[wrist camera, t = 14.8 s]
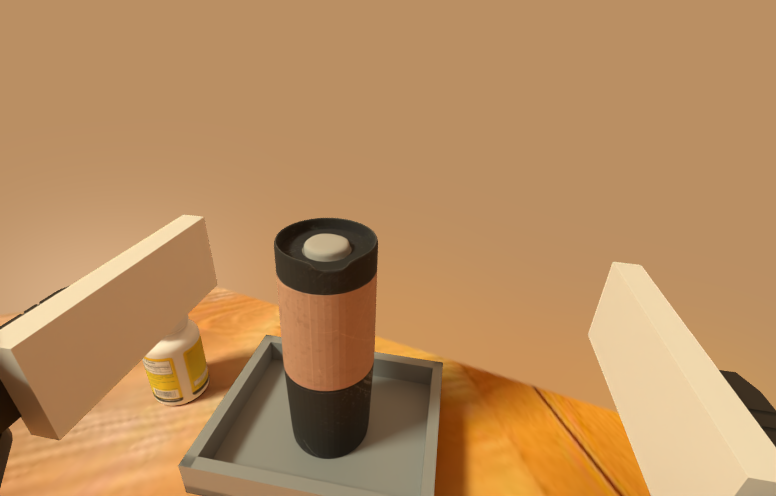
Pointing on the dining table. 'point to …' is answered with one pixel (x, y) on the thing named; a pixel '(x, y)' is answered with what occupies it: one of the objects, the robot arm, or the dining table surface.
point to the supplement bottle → (178, 365)
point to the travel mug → (327, 330)
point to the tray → (296, 467)
